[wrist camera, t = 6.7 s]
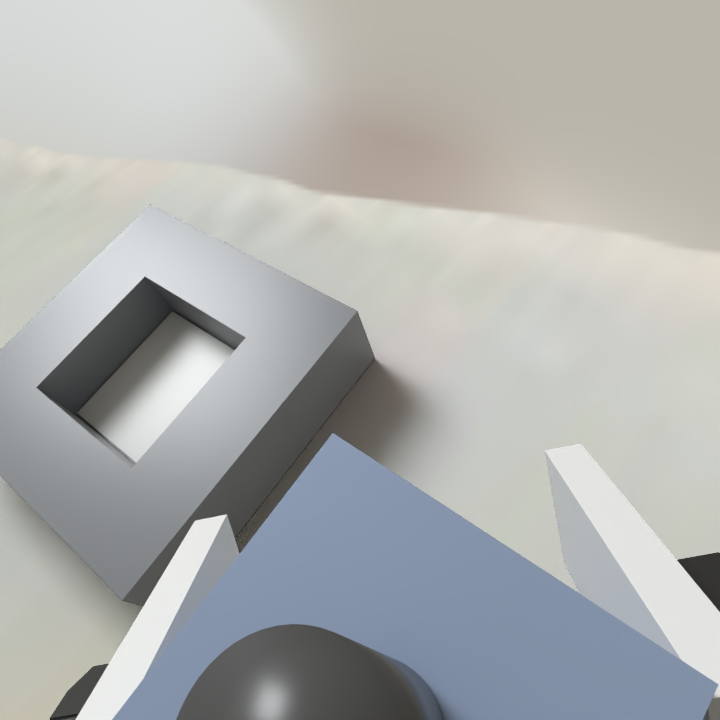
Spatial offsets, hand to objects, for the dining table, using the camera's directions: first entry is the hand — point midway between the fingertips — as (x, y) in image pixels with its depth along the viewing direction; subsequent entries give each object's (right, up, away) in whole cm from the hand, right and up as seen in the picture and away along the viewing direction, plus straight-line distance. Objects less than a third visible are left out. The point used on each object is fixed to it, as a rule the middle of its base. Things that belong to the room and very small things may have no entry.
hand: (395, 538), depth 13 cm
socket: (-10, +2, +16) cm, 19 cm away
